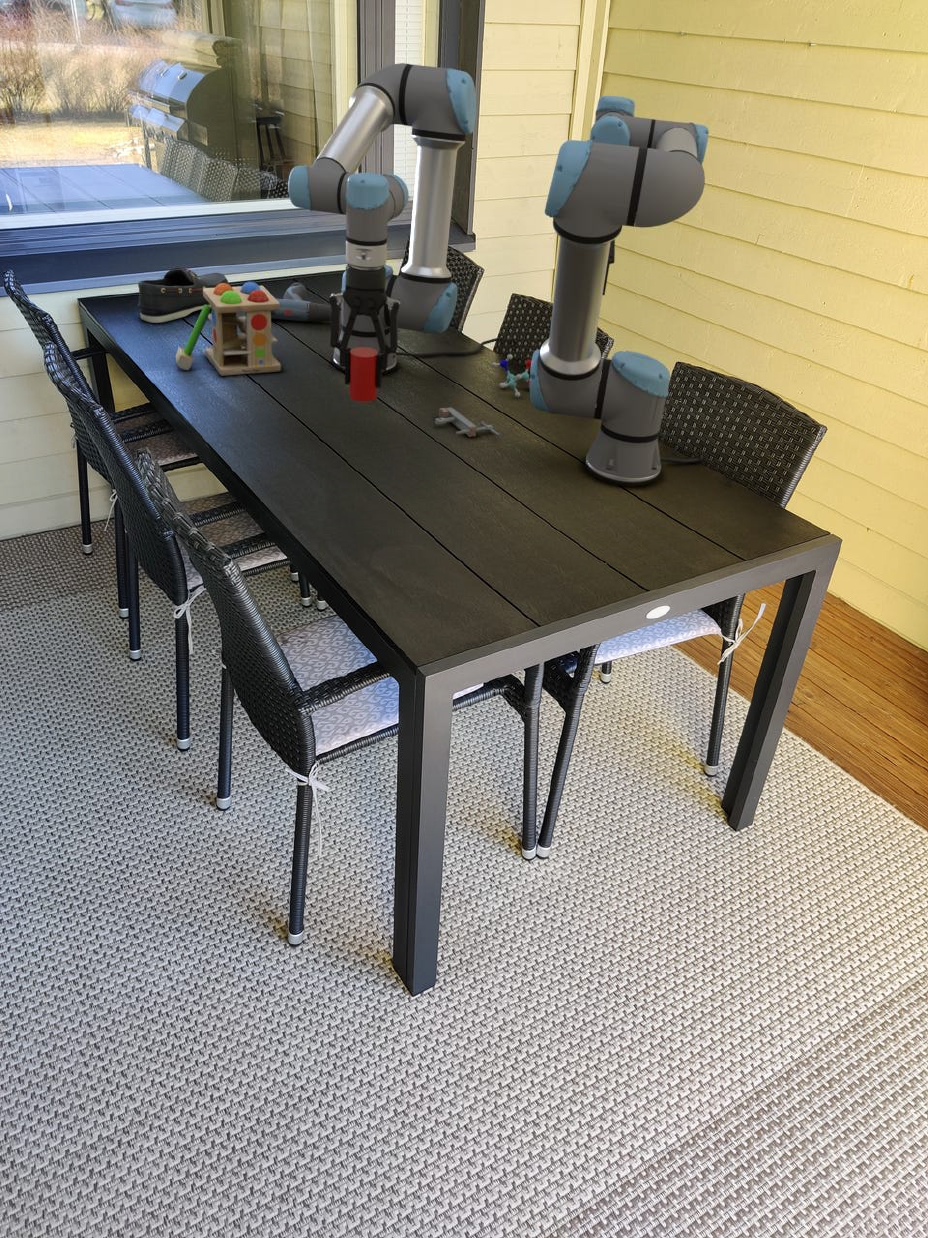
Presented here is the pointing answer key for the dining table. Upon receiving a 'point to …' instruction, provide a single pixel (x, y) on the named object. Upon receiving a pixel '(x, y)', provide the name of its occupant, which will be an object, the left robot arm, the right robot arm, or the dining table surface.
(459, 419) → the clamp
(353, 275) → the left robot arm
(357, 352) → the tin
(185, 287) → the boat shoe
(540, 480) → the dining table surface
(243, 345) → the pounding bench toy
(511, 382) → the molecular model
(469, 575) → the dining table surface
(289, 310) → the power drill
